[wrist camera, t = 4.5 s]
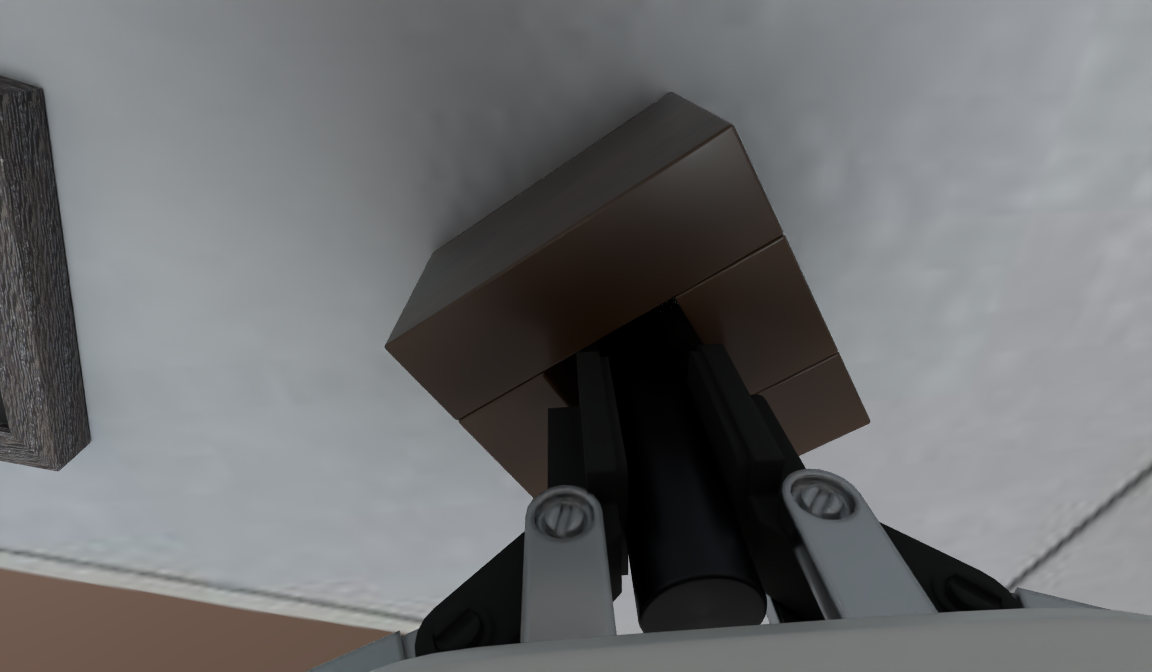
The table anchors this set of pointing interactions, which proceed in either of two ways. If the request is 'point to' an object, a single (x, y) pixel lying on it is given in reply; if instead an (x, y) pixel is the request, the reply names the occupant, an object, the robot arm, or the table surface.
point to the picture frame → (34, 297)
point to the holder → (622, 289)
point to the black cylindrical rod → (675, 495)
